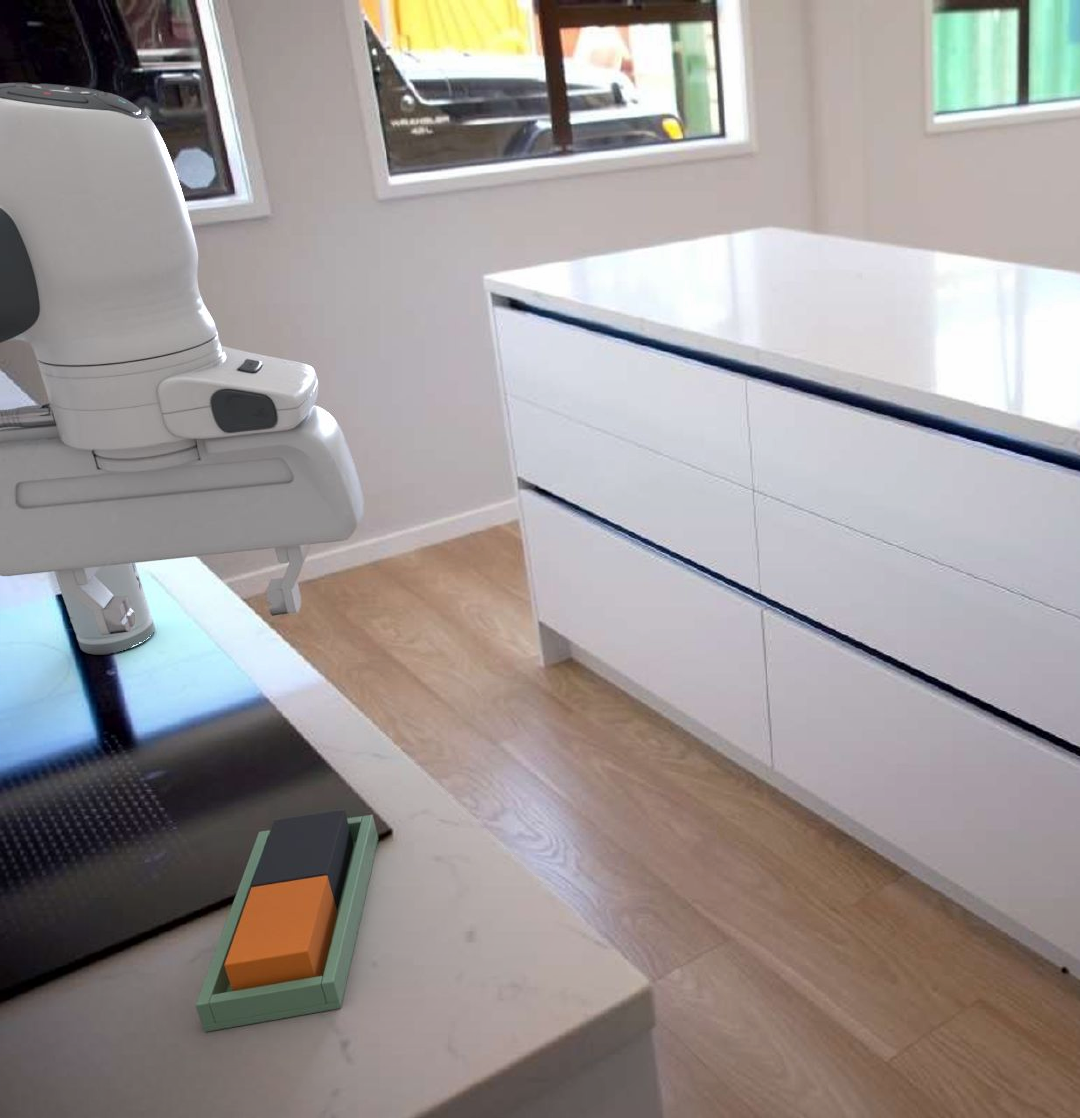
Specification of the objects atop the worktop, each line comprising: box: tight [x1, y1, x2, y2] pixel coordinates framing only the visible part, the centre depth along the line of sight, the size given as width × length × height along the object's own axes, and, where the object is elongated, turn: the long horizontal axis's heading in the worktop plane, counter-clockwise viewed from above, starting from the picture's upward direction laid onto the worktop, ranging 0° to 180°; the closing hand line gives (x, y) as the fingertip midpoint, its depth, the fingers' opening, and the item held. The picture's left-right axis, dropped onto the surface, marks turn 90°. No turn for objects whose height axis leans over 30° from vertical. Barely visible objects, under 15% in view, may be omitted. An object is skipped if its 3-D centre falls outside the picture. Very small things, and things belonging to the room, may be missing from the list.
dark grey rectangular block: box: [251, 808, 354, 911], centre depth 82 cm, size 4×7×3 cm, turn 11°
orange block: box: [224, 875, 338, 991], centre depth 76 cm, size 4×7×3 cm, turn 11°
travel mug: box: [53, 563, 156, 656], centre depth 113 cm, size 6×7×20 cm
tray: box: [195, 814, 379, 1033], centre depth 79 cm, size 7×16×2 cm, turn 11°
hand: (203, 620), depth 76 cm, fingers open, 8 cm apart
